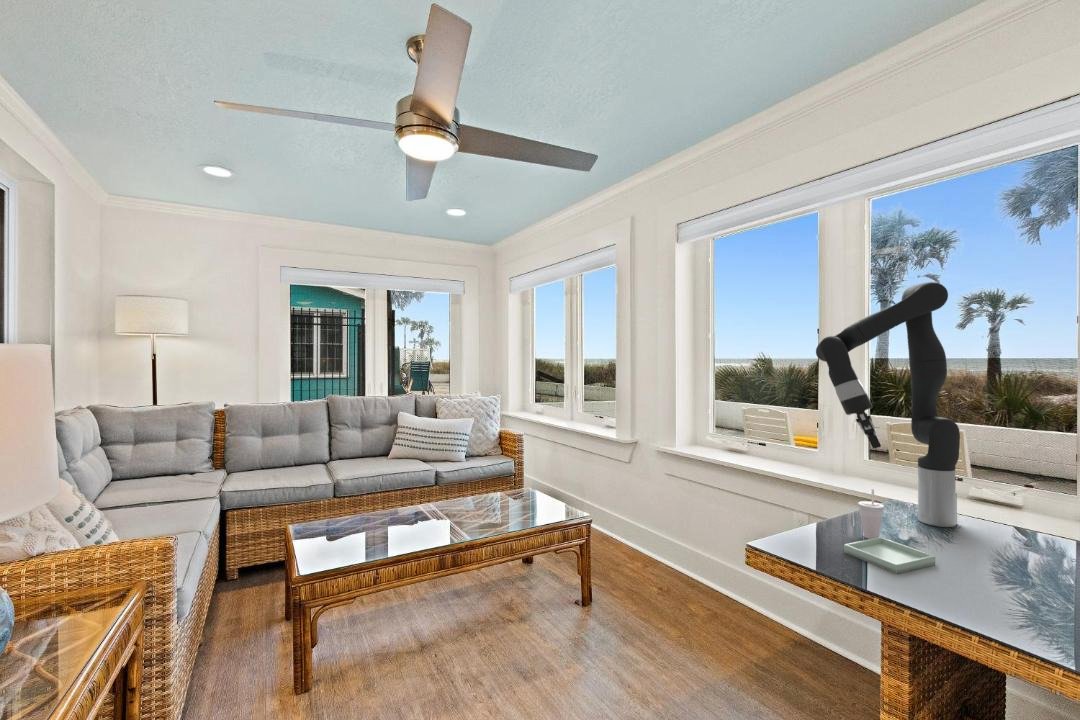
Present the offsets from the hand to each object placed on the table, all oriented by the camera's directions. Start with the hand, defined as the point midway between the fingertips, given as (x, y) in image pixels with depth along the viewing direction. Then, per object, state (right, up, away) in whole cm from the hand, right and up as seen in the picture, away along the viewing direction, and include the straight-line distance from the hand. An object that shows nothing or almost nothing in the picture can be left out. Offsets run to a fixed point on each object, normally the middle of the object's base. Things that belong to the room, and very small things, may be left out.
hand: (877, 447), depth 148 cm
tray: (-10, -26, -19) cm, 34 cm away
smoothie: (-5, -26, -4) cm, 26 cm away
